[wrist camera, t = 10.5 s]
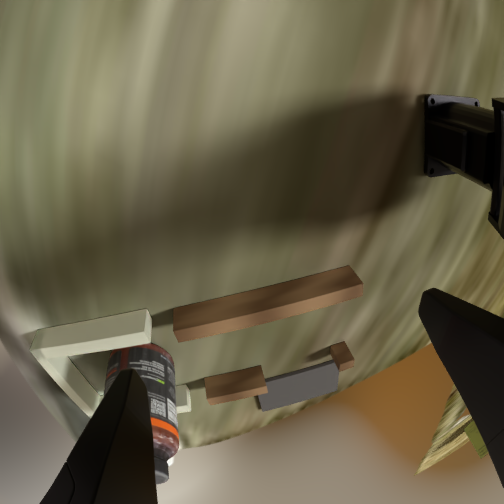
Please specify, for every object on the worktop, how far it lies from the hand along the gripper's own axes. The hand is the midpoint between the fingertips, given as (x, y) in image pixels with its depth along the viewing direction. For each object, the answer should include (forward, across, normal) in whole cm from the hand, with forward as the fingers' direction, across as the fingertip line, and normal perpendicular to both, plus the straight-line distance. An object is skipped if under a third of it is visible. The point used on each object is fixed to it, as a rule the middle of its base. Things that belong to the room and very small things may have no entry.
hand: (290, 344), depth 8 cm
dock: (+12, +14, +13) cm, 23 cm away
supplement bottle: (+13, +11, +13) cm, 21 cm away
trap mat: (+12, -3, +22) cm, 26 cm away
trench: (+12, -1, +13) cm, 18 cm away
